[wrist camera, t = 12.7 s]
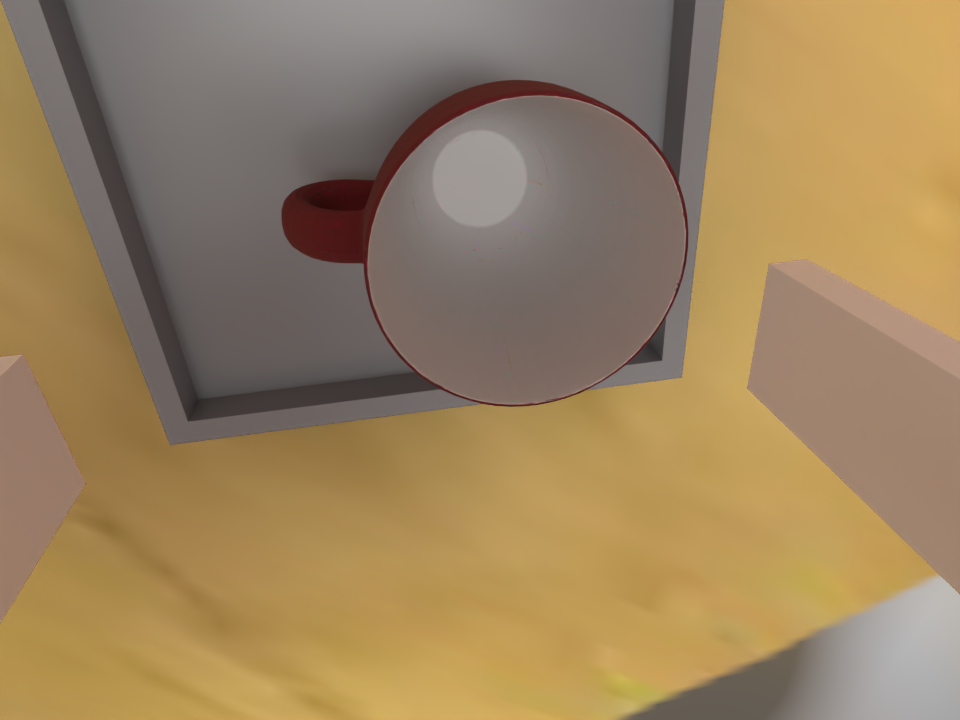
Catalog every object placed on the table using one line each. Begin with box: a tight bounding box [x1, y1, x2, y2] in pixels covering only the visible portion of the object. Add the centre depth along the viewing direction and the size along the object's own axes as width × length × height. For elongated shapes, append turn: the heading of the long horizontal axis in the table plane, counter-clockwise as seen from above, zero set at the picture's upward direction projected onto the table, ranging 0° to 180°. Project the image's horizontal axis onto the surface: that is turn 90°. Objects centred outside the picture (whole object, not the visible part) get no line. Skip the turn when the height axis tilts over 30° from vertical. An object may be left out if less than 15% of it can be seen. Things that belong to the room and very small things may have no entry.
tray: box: [1, 0, 724, 445], centre depth 23 cm, size 22×18×2 cm
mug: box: [281, 80, 688, 407], centre depth 19 cm, size 10×8×10 cm
